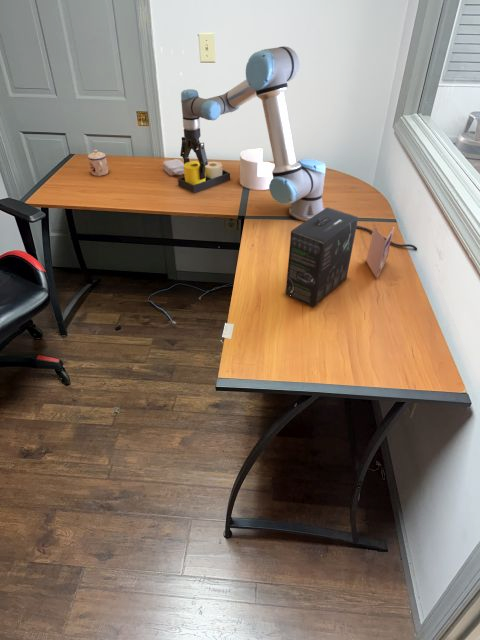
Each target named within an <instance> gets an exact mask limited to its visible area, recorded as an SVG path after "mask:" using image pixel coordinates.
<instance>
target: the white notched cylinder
mask: <svg viewBox="0 0 480 640" xmlns="http://www.w3.org/2000/svg"><path fill="white" fill-rule="evenodd" d="M263 155H264V148H263V147H253V148H248V149H244V150H243V151H241V152H240V154H239V184H240V185H241V186H242V187H243V188H246V189H250V190H255V191H267V190H269V184H270V182H271V180H272V179H273V174H272V170H273V169H274V167H275V164H274V162H271V161H270V162H269V161H263V158H264V156H263Z"/></svg>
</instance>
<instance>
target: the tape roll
mask: <svg viewBox="0 0 480 640" xmlns="http://www.w3.org/2000/svg"><path fill="white" fill-rule="evenodd" d="M183 164H184V163H183ZM199 166H200V163H199V161H198V160H195V161H190V162H187V163H185V164H184V174H183V175H184V176H185V182H187V183H189V184H191V185H196V184H199V183H202V182H205V181H206V179H202V180H200V173H199Z"/></svg>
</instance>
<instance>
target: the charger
mask: <svg viewBox="0 0 480 640" xmlns="http://www.w3.org/2000/svg"><path fill="white" fill-rule="evenodd" d="M162 169H163V171H165V172H166V173H167V174H168V175H169V176H171V177H173V176H182V175H185V174H184V162H182V161H181V160H180V159H178V158H174V159H170V160H169V159H168V160H165V161H163V162H162Z"/></svg>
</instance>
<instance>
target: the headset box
mask: <svg viewBox="0 0 480 640" xmlns="http://www.w3.org/2000/svg"><path fill="white" fill-rule="evenodd" d="M358 221H359V217H358V216H356V215H354V214H350V213H347V212H343V211H341V210H338V209H334V208H332V207H325V208H324V210H322V211H321V212H319V213H318V214H316V215H315V216H313V217H312V218H310V219H309V220H307V221H303V222H302V223H301V224H299V225H298V226H296V227H295V228H293V229H291V231H290V240H289V251H288V262H287V274H286V285H285V295H286V296H288V297H289V298H292V299H293V300H295V301H297V302H300V303H301V304H304V305H306V306H308V307H310V308H315V307H316V306H317V305H318V304H319V303H321V301H322V300H324V299H325V298H326V297H327V296H328V295H330V293H332V292H333V291H334V290H336V289H337V288H338V287H339V286H340V285H341V284H342V283H344V282H345V281H346V280H347V279H348V274H349V269H350V263H351V258H352V253H353V246H354V242H355V238H356V237H355V236H356V232H357V226H358ZM290 295H291V296H290Z"/></svg>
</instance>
